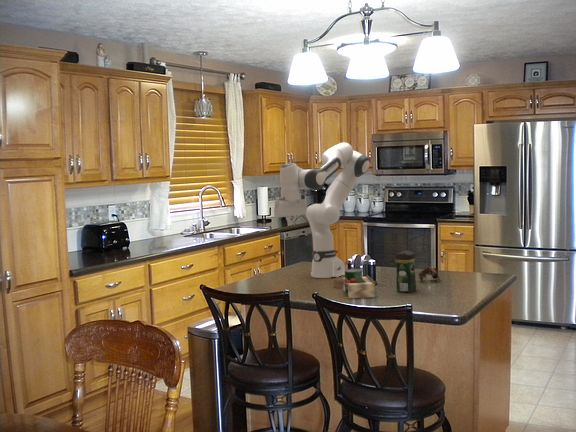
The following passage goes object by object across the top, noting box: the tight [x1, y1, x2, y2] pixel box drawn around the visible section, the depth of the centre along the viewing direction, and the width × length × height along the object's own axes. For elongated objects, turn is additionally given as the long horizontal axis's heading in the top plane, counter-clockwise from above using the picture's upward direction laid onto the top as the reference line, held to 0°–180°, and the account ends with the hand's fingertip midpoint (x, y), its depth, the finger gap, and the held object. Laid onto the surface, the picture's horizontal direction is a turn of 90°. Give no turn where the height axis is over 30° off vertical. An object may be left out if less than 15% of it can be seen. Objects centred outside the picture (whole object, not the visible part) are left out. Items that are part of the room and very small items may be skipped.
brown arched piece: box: [417, 266, 441, 284], centre depth 306 cm, size 12×10×8 cm
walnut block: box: [333, 277, 344, 289], centre depth 301 cm, size 5×5×4 cm
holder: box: [343, 274, 376, 299], centre depth 283 cm, size 12×19×7 cm, turn 3°
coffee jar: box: [394, 250, 417, 293], centre depth 285 cm, size 10×8×19 cm
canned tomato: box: [344, 268, 363, 296], centre depth 283 cm, size 8×8×11 cm
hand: (291, 225), depth 300 cm, fingers closed
